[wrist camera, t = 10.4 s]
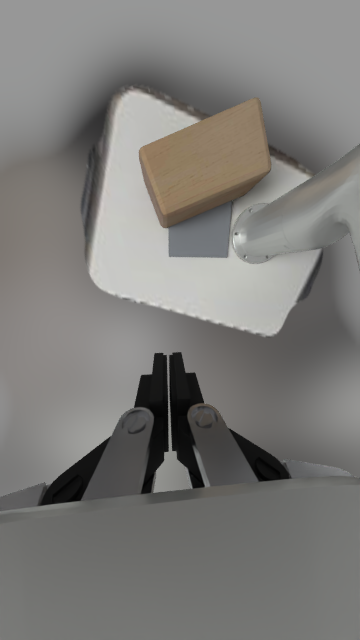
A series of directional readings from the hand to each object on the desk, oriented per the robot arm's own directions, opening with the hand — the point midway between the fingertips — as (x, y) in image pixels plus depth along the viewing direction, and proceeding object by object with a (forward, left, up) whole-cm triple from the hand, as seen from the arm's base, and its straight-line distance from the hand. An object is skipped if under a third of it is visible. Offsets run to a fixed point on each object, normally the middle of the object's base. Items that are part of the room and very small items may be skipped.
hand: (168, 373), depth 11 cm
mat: (-8, -17, -33) cm, 38 cm away
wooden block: (+2, -19, -28) cm, 34 cm away
